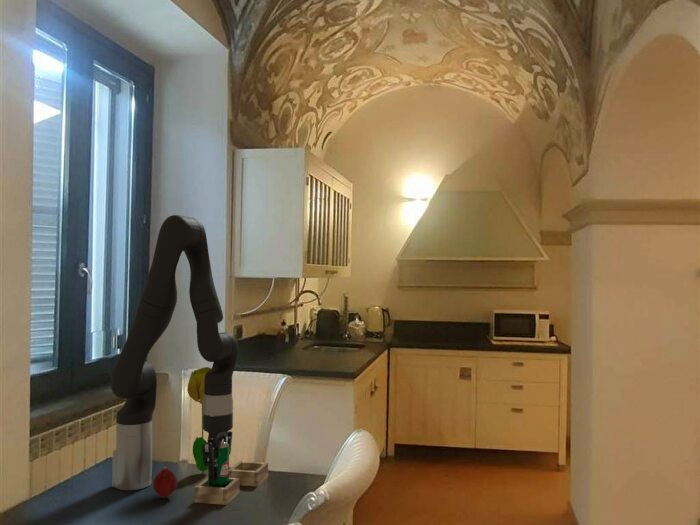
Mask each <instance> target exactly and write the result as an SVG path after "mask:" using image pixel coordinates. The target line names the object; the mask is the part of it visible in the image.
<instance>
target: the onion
mask: <svg viewBox="0 0 700 525" xmlns="http://www.w3.org/2000/svg"><path fill="white" fill-rule="evenodd" d="M152 485H153V486H152V487H153V490H154V491H155V493H156V494H157V495H158V496H160V497H161V498H163V499H166V498H168V497H169V496H171V495H172V494H173V493H174V492H175V490H176V489H177V487H178V480H177V477H176V474H174V472H173V471H172V470H170V469H169V468H167V466H166V465H164V466H163V468H162V470H161V471H159V473H157V475H156V476H155V477H154V480H153V484H152Z"/></svg>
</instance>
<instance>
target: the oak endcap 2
mask: <svg viewBox="0 0 700 525" xmlns="http://www.w3.org/2000/svg"><path fill="white" fill-rule="evenodd" d="M268 477H269V463H268V462H262V461H261V462H259V461H258V462H257V461H243V460H239V461H238V462H236V463H235V464H234V465H233V466H232V467H231V468H229V478H240V486H247V487H259V486H260V485H261V484H262V483H264V482H265V480H266V479H268Z"/></svg>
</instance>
